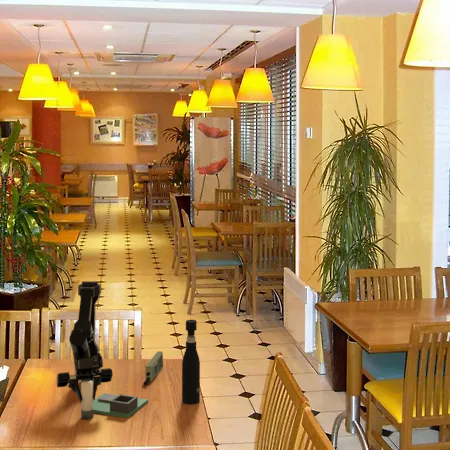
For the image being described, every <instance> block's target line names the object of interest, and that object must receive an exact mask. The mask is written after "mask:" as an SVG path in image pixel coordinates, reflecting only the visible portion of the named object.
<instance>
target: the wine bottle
mask: <svg viewBox="0 0 450 450" xmlns="http://www.w3.org/2000/svg"><path fill="white" fill-rule="evenodd" d="M197 323H198V322H197V320H195V319H186V320H185V331H187V336H186V341H185V351H184V353H183V357H182V363H181V402H182V404H185V405H192V406H193V405H197V404H199V403H200V401H201V397H200V396H201V392H200V391H201V386H200V385H201V382H200V381H201V379H200V378H201V363H200V362H201V361H200V356H199V354H198V353H199V352H198V350H197V341H196V336H195V335H196V333H195V332H196V331H197V326H198V324H197Z"/></svg>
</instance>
